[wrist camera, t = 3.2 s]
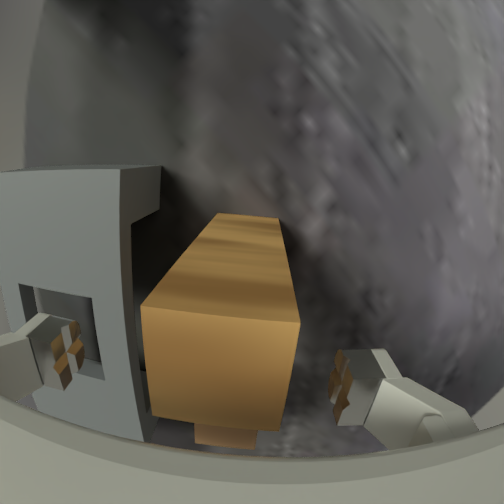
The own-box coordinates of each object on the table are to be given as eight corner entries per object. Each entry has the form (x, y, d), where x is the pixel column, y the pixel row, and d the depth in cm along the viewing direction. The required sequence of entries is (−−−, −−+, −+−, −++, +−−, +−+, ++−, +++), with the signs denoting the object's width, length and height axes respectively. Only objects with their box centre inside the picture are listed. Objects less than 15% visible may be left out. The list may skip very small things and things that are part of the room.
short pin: (257, 386, 25) (254, 449, 18) (209, 381, 25) (195, 442, 18) (262, 348, 24) (260, 410, 17) (210, 342, 24) (193, 403, 17)
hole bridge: (165, 399, 26) (146, 451, 20) (72, 377, 26) (41, 418, 20) (161, 165, 20) (120, 169, 14) (46, 165, 20) (-10, 173, 14)
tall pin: (272, 275, 22) (279, 431, 9) (214, 269, 22) (152, 415, 9) (278, 218, 21) (300, 322, 8) (217, 212, 21) (140, 305, 8)
